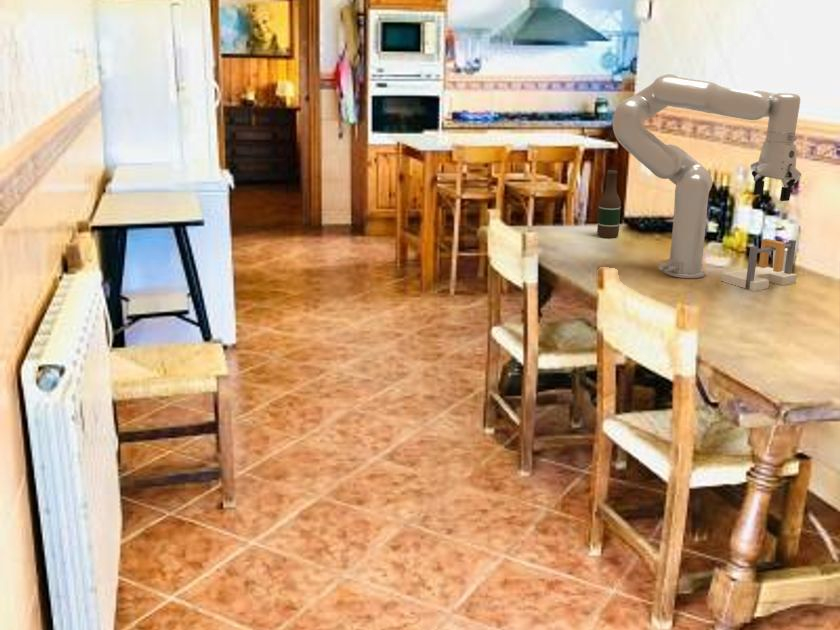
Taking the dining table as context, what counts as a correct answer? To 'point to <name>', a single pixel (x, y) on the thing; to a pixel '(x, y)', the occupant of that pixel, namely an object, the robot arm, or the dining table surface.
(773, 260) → the beige cube
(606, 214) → the beer bottle
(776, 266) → the orange u-shaped block
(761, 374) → the dining table surface
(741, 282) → the hanging rack
